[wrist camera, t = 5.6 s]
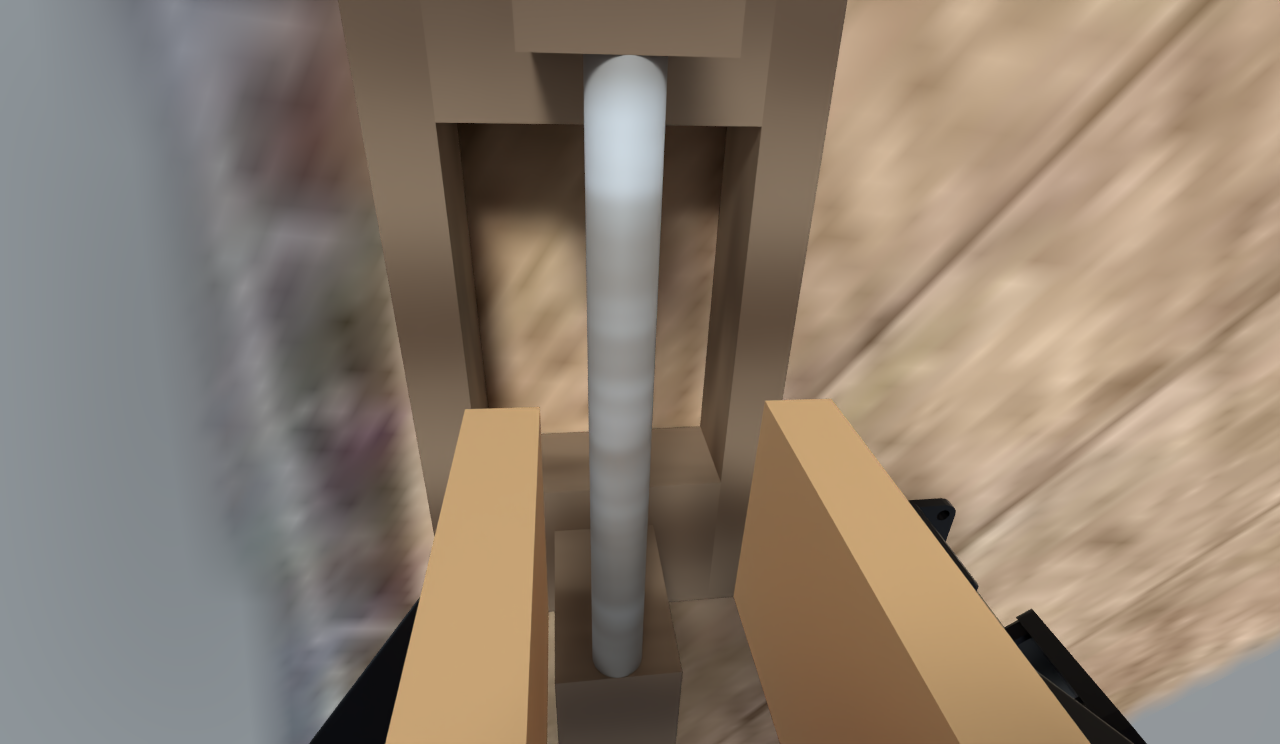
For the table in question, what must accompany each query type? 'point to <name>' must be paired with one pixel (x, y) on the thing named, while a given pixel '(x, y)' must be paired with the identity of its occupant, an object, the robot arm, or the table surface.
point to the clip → (764, 595)
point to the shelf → (607, 286)
